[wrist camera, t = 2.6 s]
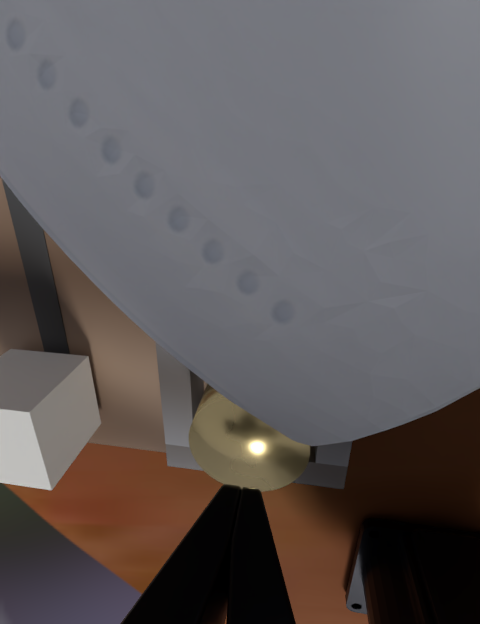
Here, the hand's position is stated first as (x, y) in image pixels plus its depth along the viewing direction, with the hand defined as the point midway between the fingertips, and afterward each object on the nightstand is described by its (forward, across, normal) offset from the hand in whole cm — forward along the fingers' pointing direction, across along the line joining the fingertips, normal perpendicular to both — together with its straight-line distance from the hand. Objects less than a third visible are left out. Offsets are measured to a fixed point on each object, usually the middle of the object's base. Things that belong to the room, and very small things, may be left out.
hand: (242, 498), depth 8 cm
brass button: (+3, 0, 0) cm, 3 cm away
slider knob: (+5, +8, +1) cm, 9 cm away
